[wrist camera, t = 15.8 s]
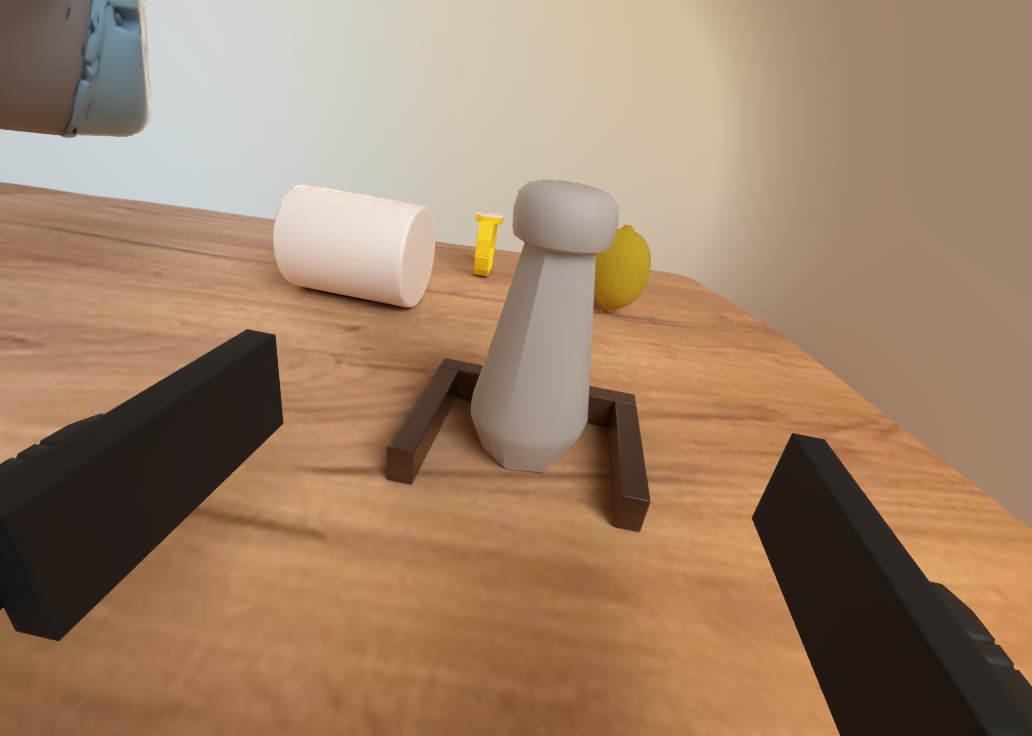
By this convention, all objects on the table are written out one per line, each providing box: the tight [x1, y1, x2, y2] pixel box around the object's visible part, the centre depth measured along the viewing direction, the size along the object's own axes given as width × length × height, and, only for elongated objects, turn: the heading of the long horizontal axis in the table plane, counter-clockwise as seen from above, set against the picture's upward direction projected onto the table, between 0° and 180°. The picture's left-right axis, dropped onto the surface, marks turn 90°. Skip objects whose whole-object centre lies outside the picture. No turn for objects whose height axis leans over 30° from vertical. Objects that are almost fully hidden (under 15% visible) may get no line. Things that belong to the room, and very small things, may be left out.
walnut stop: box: [386, 358, 651, 532], centre depth 25 cm, size 11×9×2 cm
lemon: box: [594, 225, 651, 312], centre depth 45 cm, size 6×6×8 cm
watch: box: [474, 212, 503, 276], centre depth 50 cm, size 6×3×6 cm, turn 176°
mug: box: [273, 185, 435, 308], centre depth 41 cm, size 12×10×8 cm
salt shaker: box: [470, 180, 619, 473], centre depth 23 cm, size 6×6×13 cm
